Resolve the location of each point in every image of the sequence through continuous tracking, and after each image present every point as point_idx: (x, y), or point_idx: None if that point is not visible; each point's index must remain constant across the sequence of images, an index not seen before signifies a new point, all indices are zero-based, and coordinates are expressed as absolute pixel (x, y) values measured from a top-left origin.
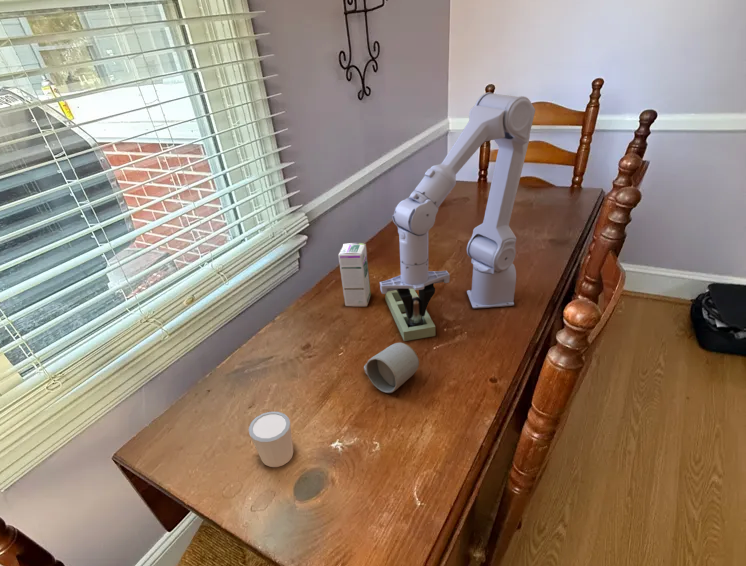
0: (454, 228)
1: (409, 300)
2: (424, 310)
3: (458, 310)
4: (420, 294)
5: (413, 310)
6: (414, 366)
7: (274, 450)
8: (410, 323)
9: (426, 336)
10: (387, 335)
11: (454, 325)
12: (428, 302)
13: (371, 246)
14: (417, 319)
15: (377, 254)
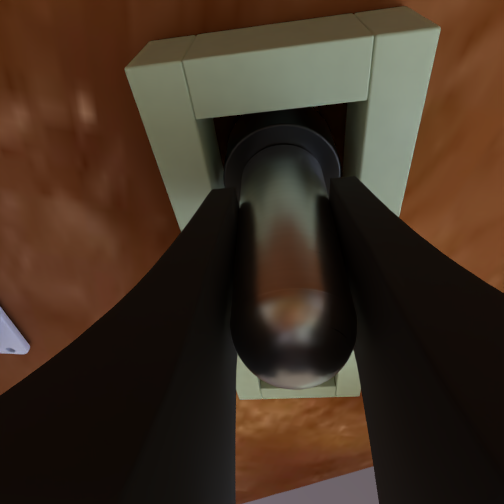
0: None
1: (468, 354)
2: (203, 219)
3: (41, 261)
4: (223, 405)
5: (319, 232)
6: None
7: None
8: (326, 160)
9: (217, 34)
10: (481, 115)
11: (31, 146)
12: (134, 289)
13: (308, 483)
14: (275, 167)
15: (303, 469)
